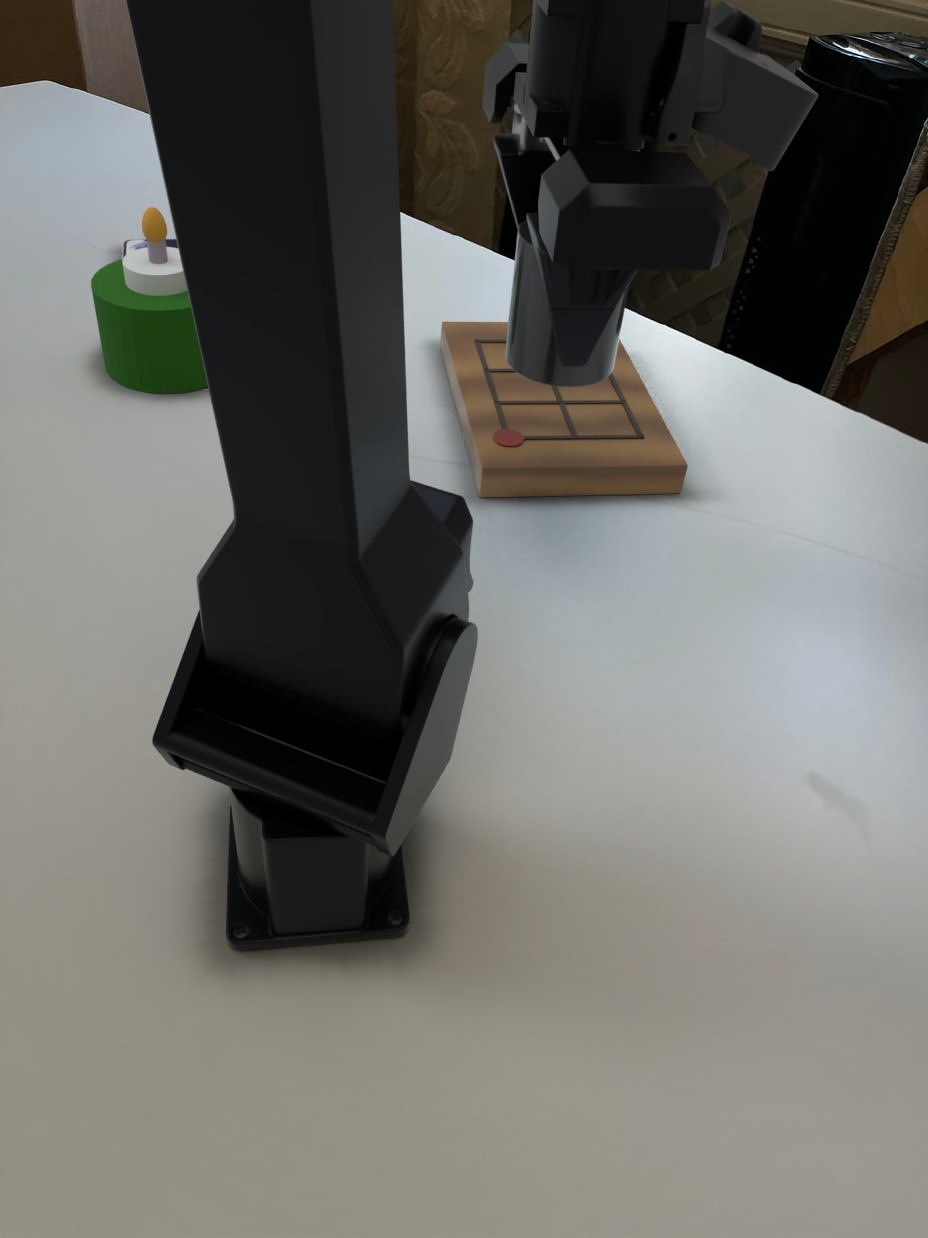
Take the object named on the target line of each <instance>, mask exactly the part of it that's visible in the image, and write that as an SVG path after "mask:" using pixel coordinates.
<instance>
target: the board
mask: <svg viewBox="0 0 928 1238" xmlns="http://www.w3.org/2000/svg"><path fill="white" fill-rule="evenodd" d="M507 330H508V321H441V329H440V345H439V348H440V352H441V356H442V359H443V363H444V367H445V371H446V375H447V378H448V383H449V387H450V391H451V394H452V398H453V402H454V405H455V409H456V413H457V417H458V420H459V421H458V422H459V424H460V428H461V432H462V436H463V440H464V444H465V447H466V451H467V455H468V458H469V462H470V467H471V471H472V474H473V478H474V482H475V486H476V489H477V494H478V496H479V498H517V497H518V498H520V497H527V498H528V497H569V496H570V497H571V496H573V497H574V496H615V495H616V496H619V495H621V496H622V495H664V494H665V495H666V494H667V495H668V494H669V495H671V494H681V493H682V490H683V486H684V482H685V478H686V475H687V470H688V466H689V465H688V463H687V461H686V460H685V459H686V458H685V457H684V456H683V453H682V452H681V450H680V448H679V446H678V444H677V442H676V440H675V439H674V436H673V434H672V433H671V432H670V430H669V427H668V425H667V424H666V422H665V420H664V418H663V416H662V415H661V412H660V411H659V409H658V407H657V405H656V403H655V401H654V399H653V397H651V394H650V392H649V390H648V389H647V387H646V385H645V383H644V381H643V380H642V378H641V376H640V374H639V372H638V370H637V369H636V366H635V365H634V363H633V361H632V359H631V357H630V356H629V354H628V352H627V350H626V348H625V346H624V344H623V342H622V341H621V339H620V338H619V342H618V348H617V353H616V359H615V364H614V369H613V371H612V373H611V374H610V375H609V376H608V377H607V378H606V379H604V380H602V381H600V382H598V383H595V384H591V385H587V386H580V387H560V386H552V385H547V384H542V383H539V382H536V381H533V380H530V379H528V378H526V377H524V376H522V375H520V374H519V373H517V372H516V371H515V370H513V369H512V368H511V367H510V365H509V364H508V363H507V360H506V358H505V349H506V339H507Z"/></svg>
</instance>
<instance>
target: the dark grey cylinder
mask: <svg viewBox="0 0 928 1238" xmlns="http://www.w3.org/2000/svg"><path fill="white" fill-rule="evenodd" d="M513 263H514V264H513V273H512V274H513V276H512V283H511V294H510V303H509V312H508V320H507V322H508V330H507V339H506V349H505V358H506V360H507V363H508V364H509V365H510V367H511V368H512V369H513V370H515V371H516V372H517V373H519V374H520V375H522V376H524V377H526V378H528V379H530V380H533V381H536V382H539V383H542V384H547V385H552V386H560V387H580V386H587V385H591V384H595V383H598V382H600V381H602V380H604V379H606V378H607V377H608V376H609V375H610V374H611V373H612V371H613V369H614V364H615V359H616V353H617V348H618V342H619V339H620V336H621V331H622V325H623V320H624V314H625V309H626V306H627V305H626V304H627V298H628V293H629V288H630V284H629V285H628V287H627V288H626V290H625V292H624V294H623V295H622V297H621V299H620V301H619V303H618V305H617V307H616V308H615V310H614V312H613V314H612V316H611V318H610V320H609V322H608V324H607V326H606V328H605V329H604V331H603V333H602V335H601V337H600V339H599V341H598V343H597V345H596V347H595V349H594V351H593V353H592V354H591V356H590V358H589V360H588V362H587V364H586V365H585V366H582V367H565V366H563V365H562V363H561V361H560V357H559V353H558V349H557V345H556V341H555V337H554V332H553V328H552V324H551V320H550V315H549V311H548V307H547V302H546V298H545V294H544V289H543V285H542V281H541V277H540V272H539V268H538V264H537V260H536V256H535V252H534V247H533V243H532V239H531V235H530V230H529V226H528V222H527V219H526V220H524V221H523V222H522V223H521V224H520V226H519V228H518V229H517V236H516V246H515V256H514V262H513Z"/></svg>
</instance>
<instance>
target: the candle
mask: <svg viewBox="0 0 928 1238" xmlns="http://www.w3.org/2000/svg"><path fill="white" fill-rule="evenodd" d="M141 231H142V234H143V236H144V238H145V239H147V248H141V249H138V250H134V251H132V252H130V253H128V254H127V255H126V256H124V258H123V259H122V258H121V259H118V260H115V261H112V262H110V263H108V264H106V265H104V266H102V267H101V268H99V269H98V270H97V271H96V272H95V273H94V274H93V276H92V277H91V280H90V288H91V293H92V299H93V306H94V311H95V316H96V322H97V329H98V334H99V339H100V345H101V352H102V357H103V363H104V369H105V370H106V373H107V375H108V376H109V377H110V378H111V379H112V380H113V381H115V382H116V383H117V384H119V385H121V386H123V387H126V388H128V389H132V390H135V391H139V392H144V393H150V394H163V395H164V394H168V395H169V394H183V393H190V392H194V391H199V390H203V389H206V388H208V384H207V380H206V375H205V370H204V366H203V361H202V356H201V352H200V347H199V342H198V338H197V333H196V328H195V324H194V319H193V315H192V310H191V305H190V301H189V296H188V291H187V287H186V282H185V277H184V273H183V268H182V263H181V259H180V254H179V249H178V248H172V247H166V241H165V239H167V236H168V226H167V222H166V220H165V217H164V215H163V214H162V212H161V211H160V210H159V208H157V207H155V206H149V207H147V208H146V210H145V211H144V212H143V215H142V219H141Z"/></svg>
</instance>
